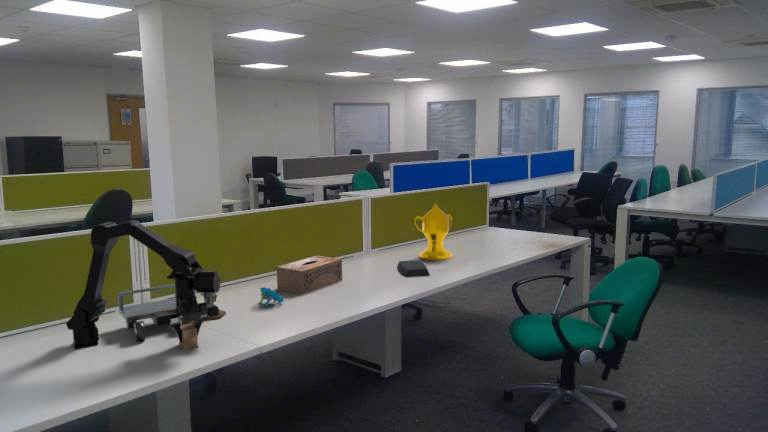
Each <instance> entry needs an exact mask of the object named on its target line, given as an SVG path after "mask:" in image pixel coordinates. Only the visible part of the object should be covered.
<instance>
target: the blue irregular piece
mask: <svg viewBox="0 0 768 432" xmlns="http://www.w3.org/2000/svg"><path fill="white" fill-rule="evenodd" d="M259 289H260V292H261V294H260V296H261V299H260V301H259V304H260V305H261V304H262V303H263V301H264V300H266V302H265V303H264V307H268V305H269V304H270V302H271V301H272V300H273V301H274V302H278V304H279V303H283V302H284V301H285V299H284V297H283V296H282V295H281V294H280V293H277V291H275V290H271V288H269V287H265V286H263V287H262V286H261V287H260V288H259Z"/></svg>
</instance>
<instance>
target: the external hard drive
mask: <svg viewBox="0 0 768 432" xmlns="http://www.w3.org/2000/svg"><path fill="white" fill-rule="evenodd" d="M396 268H397V270H398V272H399V273H400V274H401V275H402V276H403V277H405V278H410V277H429V276H430V271H429V268H428V267H427V265H426V263H425V262H424V261H422V260H420V259H414V260H413V259H412V260H399V261H398V263H397V266H396Z"/></svg>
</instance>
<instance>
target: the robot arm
mask: <svg viewBox="0 0 768 432" xmlns="http://www.w3.org/2000/svg"><path fill="white" fill-rule="evenodd" d="M123 236H130V237H132V238H133V239H134V240H136V241H137V242H139V243H140V244H142V245H144V246H145V247H146V248H148V249H150V250H151V251H153V252H154V253H155V254H157V255H158V256H160V257H161V258H162V260H163V261H164V263H165V265H167V266H168V267H169V268H170V269H172V271H171V272H170V274H169V275H168V276H166V279H168V280H173V281H174V284H175V287H174V298H176V312H177V313H173V314H168V313H167V312H166V311H165V312H159V313H155V314H154V315H153V318H152V323H154V325H155V326H156V327H158V328H159V327H166V326H169V327H170V328H172V329H174V332H175V334H176V337H177V339H178V342H179V341H180V342H181V343H182V334H181V329H180V325H181V324H180V323H179V322H178V319H180V318H184V321H185V322H187V323H189V322H192V325H194V326H195V327H196V328H197V337H198V336H199V332H200V329H201V326H202V324H204V323H203V322H205V321H204V320H207V317H206V314H207V315H208V316H210V317H212V316H217V315H219V310H220V308H219V307H218V306H217V305H216V304H214V303H209V304H206V302H199V303H198V301H197V295H196V292H197V293H200V294H201V293H203V294H204V293H215V294H216V293H219V291H220V287H221V278H220V276H219V274H218V272H217V270H216V269H211V270H204V267H203V266H202V265H201V264H200V263H199V261H198V260H197V259H196V255H195V254H194V252H193V251H191V250H189V249H187V248H184V247H182V246H178V245H174V244H172V243H170V242H168V241H167V240H166V239H165V238H163V237H161V236H160V235H158V234H156V233H155V232H154V231H152V230H151V229H149V228H148V227H146V226H145V225H143V224H142V223H141V222H140V221H138V220H136V219H134V220H130V221H125V222H124V221H123V222H118V223H117V222H114V221H108V222H103V223H101V224H97V225H95V226H94V227H93V226H92V228H91V231H90V245H91V248H92V255H91V260H90V264H89V269H88V274H87V277H86V283H85V286H84V287H85V288H84V292H83V295H82V296H81V297H80V299H79V300H78V302H77V303H76V306H75V308H74V311H73V315H72V316H71V317H70V319H69V320H68V321H67V322H66V323H65V324H66V327H67V329H68V330H72V332H71V333H72V345H73V348H74V349H75V350H77V349H82V348H88V347H92V346H97V345H99V341H100V337H99V328H98V327H97V326H96V322H98V321H99V319H100V317H101V316H102V315H103V313H104V312H106V306H107V305H106V304H107V301H108V299H103V296H102V291H103V287H104V282H105V278H106V274H107V269H108V263H109V259H110V255H111V252H112V250H113V249H114V247H115V246H116V245H117V243H118V240H119V238H120V237H123ZM207 321H208V320H207Z"/></svg>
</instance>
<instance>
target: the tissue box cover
mask: <svg viewBox="0 0 768 432" xmlns="http://www.w3.org/2000/svg"><path fill="white" fill-rule="evenodd" d="M276 280H277V281H276V285H277V286H276V287H277V290H279V291H286V292H290V293H295V294H298V295H299V294H301V295H305V294H308V293H312V292H314V291H316V290H319V289H323V288H325V287H327V286H331V285H334V284H337V283H340V282H343V259H342V258H338V257H337V258H336V257H330V256H323V255H314V256H310V257H306V258H303V259H300V260H296V261H293V262H289V263H286V264H282V265H278V266H276Z"/></svg>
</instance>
